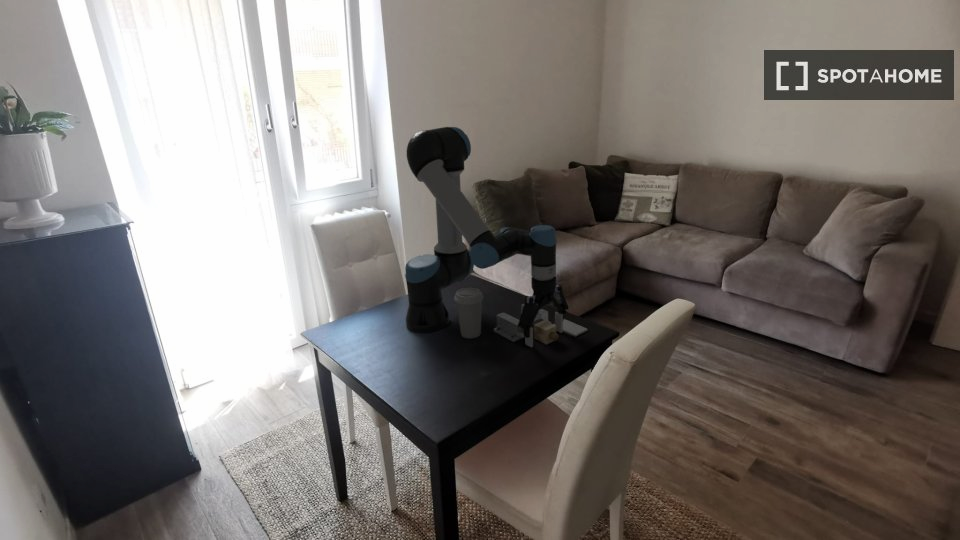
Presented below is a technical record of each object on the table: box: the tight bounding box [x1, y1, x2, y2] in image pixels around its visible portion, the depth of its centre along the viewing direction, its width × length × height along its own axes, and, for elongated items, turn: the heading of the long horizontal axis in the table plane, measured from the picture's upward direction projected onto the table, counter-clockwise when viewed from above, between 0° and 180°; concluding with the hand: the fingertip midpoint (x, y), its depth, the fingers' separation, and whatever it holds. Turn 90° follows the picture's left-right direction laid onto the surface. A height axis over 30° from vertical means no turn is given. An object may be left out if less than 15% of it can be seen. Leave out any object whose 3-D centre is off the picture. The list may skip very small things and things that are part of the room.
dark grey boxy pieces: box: [493, 303, 552, 343], centre depth 164 cm, size 10×17×6 cm, turn 128°
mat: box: [552, 318, 588, 338], centre depth 162 cm, size 10×6×1 cm, turn 38°
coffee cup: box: [453, 287, 484, 339], centre depth 160 cm, size 10×10×15 cm
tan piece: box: [531, 318, 559, 345], centre depth 156 cm, size 9×5×5 cm, turn 38°
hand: (544, 338), depth 157 cm, fingers open, 13 cm apart
